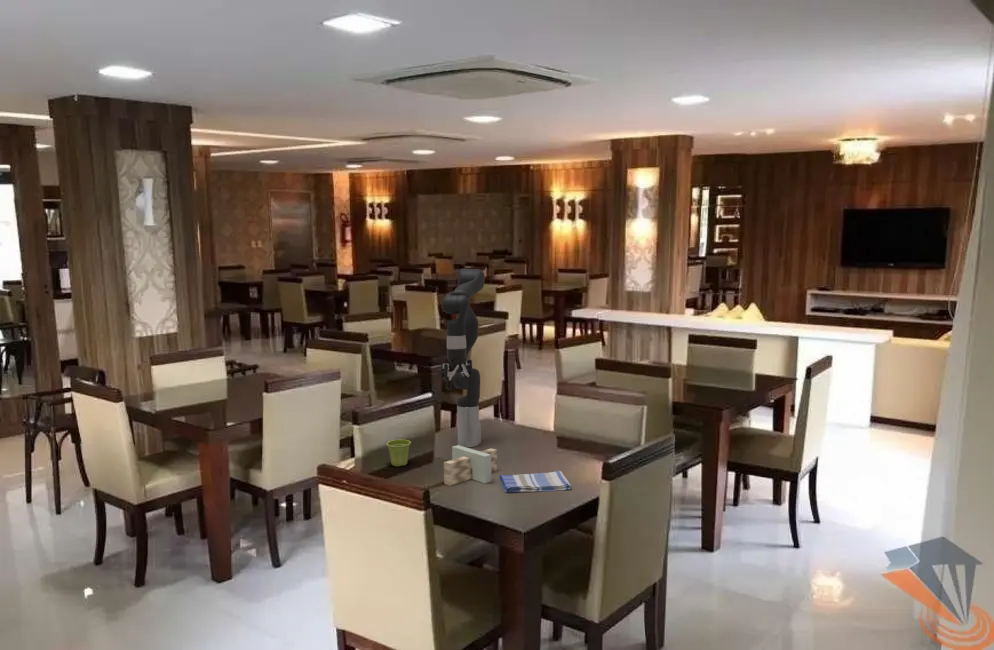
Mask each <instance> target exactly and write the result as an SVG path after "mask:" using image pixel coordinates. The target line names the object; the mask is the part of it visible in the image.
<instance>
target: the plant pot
mask: <svg viewBox="0 0 994 650" xmlns="http://www.w3.org/2000/svg"><path fill="white" fill-rule="evenodd" d="M411 443H412V441H410V440H409V439H408V440H407V439H393V440H389V441H387V442H386V446H387V449H388V451H389V457H390V463H391V465H392V466H394V467H401V466H407V464H408V460H409V459H408V458H409V450H410V447H411Z"/></svg>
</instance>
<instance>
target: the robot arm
mask: <svg viewBox="0 0 994 650" xmlns="http://www.w3.org/2000/svg"><path fill="white" fill-rule="evenodd" d="M484 286H485V272H484V271H483V270H482V269H480V268H460V269H459V271H458V273H457V286H456V287H455V289H454V291H451V292H449V293H447V294H446V295H444V296H443V298H442V300H441V309H442V310H443V312H444V313H446V314H449V315H450V314H456V315H457V316H456V318H453V319H450V320H448V321H447V323H446V359H447V360H448V361H447V363H441V365H440V367H441V368H440V369H441V371H440V378H441V380H445V389H446V390H447V391H451V390H452V389H453V388H452V387H453V386H454V388H455V389H459V390H466V395H463V396H461V397H459V398H457V399H456V400H457V401H456V413H457V415H456V417H457V445H460V446H463V447H466V448H473V447H477V446H479V445H480V444H482V430H481V429H482V428H481V427H482V424H481V421H480V411H479V410H480V409H479V408H480V407H479V403H480V396H481V392H480V391H481V374H480V371H479V370H478V368H473V360H472V359H468V355H469V354H470V351H471V350H472V349H473V347H474V345H475V344H476V342H477V340H478V336H479V320H478V318H477V316H476V315H477V314H475V311H474V310H473V308H472V307H471V304H470V300H471V298H472V297H473V296H474V295H476V294H478V293H479V292H480V291H482V290H483V288H484ZM452 384H453V385H452Z"/></svg>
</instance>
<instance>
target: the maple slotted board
mask: <svg viewBox="0 0 994 650" xmlns="http://www.w3.org/2000/svg"><path fill="white" fill-rule="evenodd" d="M480 452H483V453H487V454H490V455H491V473H493V472H497V471H498V449H496V448H487V449H484V450H481V451H480ZM471 479H472V468H470V458H468V457H465V456H463V457H460V458H457V459H453V460H452V459H450V460H447V461H444V462H443V483H444V485H447V486H454V485H457V484H458V483H462V482H465V481H468V480H469V481H470V480H471ZM472 480H473V479H472Z"/></svg>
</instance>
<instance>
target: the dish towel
mask: <svg viewBox="0 0 994 650" xmlns="http://www.w3.org/2000/svg"><path fill="white" fill-rule="evenodd" d="M499 479H500V481H501V485H502V487H503V490H504V494H506V493H507V492H509V494H510V493H534V492H554V491H569V490H571V487H572V484H571V483H570V482H569V480H568V479H567V478H566V476H565V475H564V473H563V472H562V471H561V470H556V471H553V472H552V471H549V472H538V473H537V472H536V473H526V474H525V473H521V474H518V473H517V474H506V475H505V474H504V475H503V474H502V475H501V474H500V475H499Z"/></svg>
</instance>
